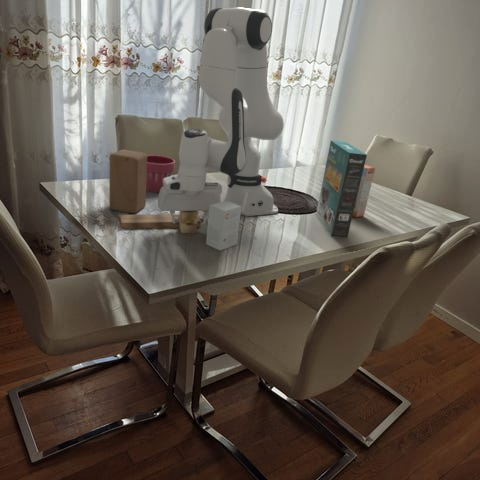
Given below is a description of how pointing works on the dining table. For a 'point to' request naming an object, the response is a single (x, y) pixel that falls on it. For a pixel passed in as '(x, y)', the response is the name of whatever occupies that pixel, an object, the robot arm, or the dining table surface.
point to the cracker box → (363, 191)
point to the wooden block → (128, 181)
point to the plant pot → (158, 171)
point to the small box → (223, 225)
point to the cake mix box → (340, 187)
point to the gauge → (188, 221)
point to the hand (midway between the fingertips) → (188, 222)
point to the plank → (150, 221)
